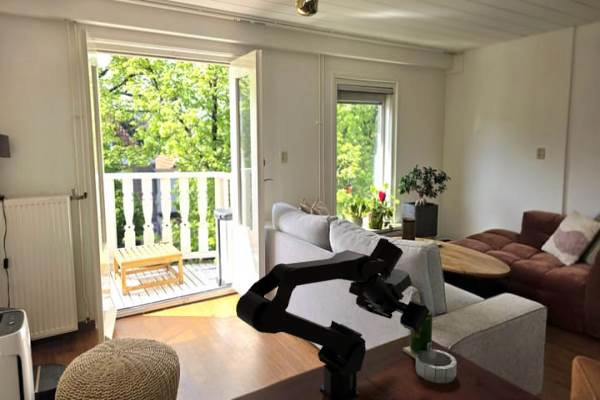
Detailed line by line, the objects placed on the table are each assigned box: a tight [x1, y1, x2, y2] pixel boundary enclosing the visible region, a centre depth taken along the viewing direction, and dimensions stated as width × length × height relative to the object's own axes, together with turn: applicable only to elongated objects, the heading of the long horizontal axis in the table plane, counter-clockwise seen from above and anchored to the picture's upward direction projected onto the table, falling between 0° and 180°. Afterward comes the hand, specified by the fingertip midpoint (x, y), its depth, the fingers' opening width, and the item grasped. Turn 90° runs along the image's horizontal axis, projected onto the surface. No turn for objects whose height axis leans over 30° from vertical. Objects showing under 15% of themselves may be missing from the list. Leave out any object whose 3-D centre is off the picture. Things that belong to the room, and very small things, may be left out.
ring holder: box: [415, 348, 458, 384], centre depth 100 cm, size 9×9×4 cm
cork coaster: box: [402, 345, 417, 360], centre depth 109 cm, size 6×6×1 cm
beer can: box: [409, 303, 434, 354], centre depth 108 cm, size 5×5×12 cm
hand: (405, 323), depth 104 cm, fingers open, 9 cm apart
